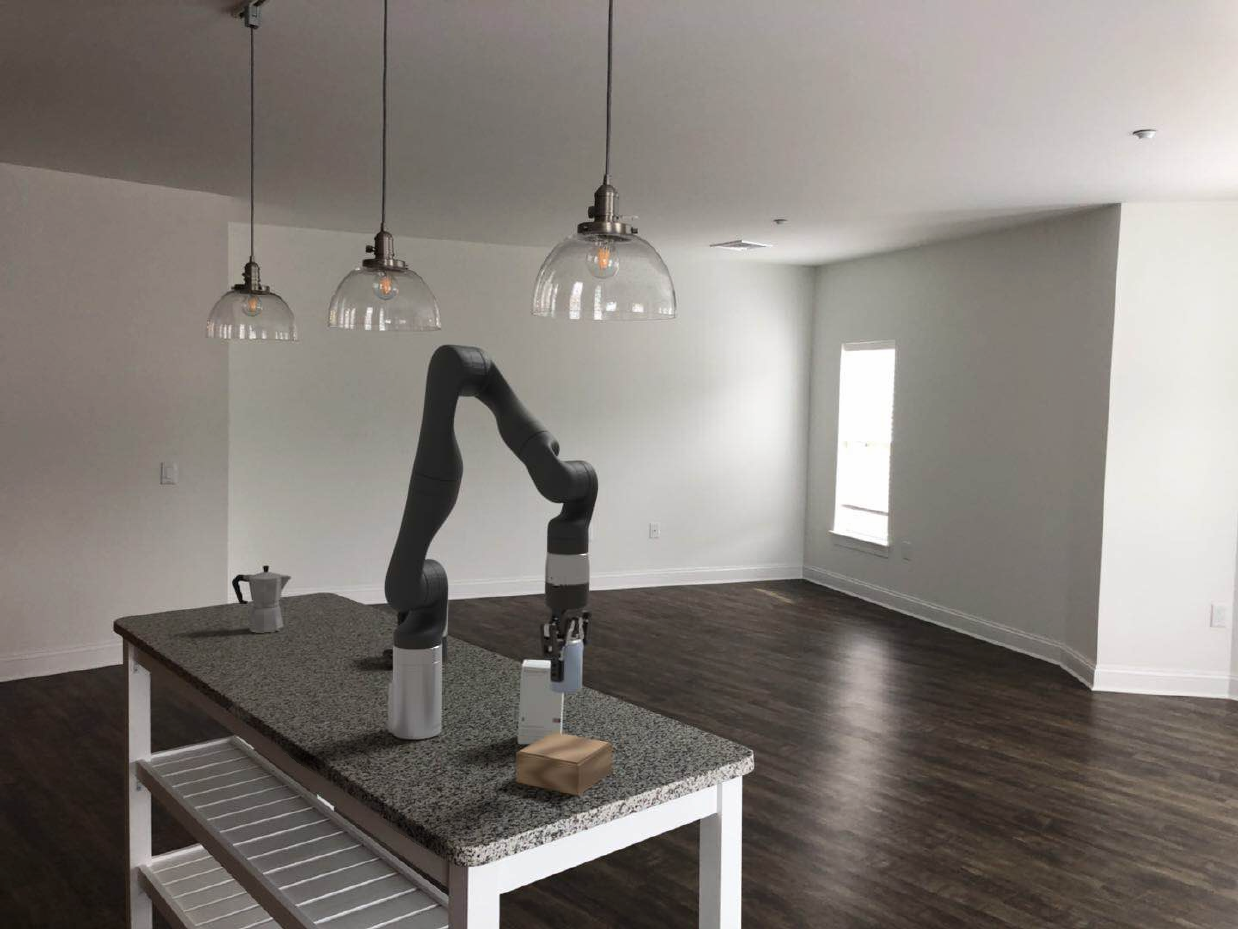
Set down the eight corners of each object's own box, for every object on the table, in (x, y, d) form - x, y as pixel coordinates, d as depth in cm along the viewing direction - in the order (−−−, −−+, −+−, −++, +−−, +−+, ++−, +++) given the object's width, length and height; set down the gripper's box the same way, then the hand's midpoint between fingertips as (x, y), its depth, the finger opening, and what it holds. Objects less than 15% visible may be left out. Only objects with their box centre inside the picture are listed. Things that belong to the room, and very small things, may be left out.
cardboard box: (515, 782, 165) (516, 751, 165) (551, 759, 176) (552, 731, 176) (578, 795, 160) (578, 764, 160) (611, 772, 171) (612, 742, 170)
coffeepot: (292, 625, 277) (292, 562, 276) (289, 633, 268) (289, 567, 267) (234, 627, 274) (234, 563, 273) (229, 635, 265) (229, 568, 264)
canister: (544, 690, 166) (544, 641, 165) (560, 682, 171) (560, 634, 170) (572, 695, 163) (572, 645, 163) (587, 687, 168) (588, 638, 168)
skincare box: (517, 745, 183) (518, 666, 182) (520, 734, 189) (521, 658, 188) (562, 746, 183) (563, 667, 182) (564, 735, 189) (565, 659, 188)
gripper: (568, 570, 174) (567, 665, 175) (525, 583, 161) (524, 684, 162) (606, 574, 171) (604, 670, 172) (565, 587, 158) (564, 691, 159)
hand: (565, 677), depth 167 cm, fingers closed on canister, 5 cm apart
